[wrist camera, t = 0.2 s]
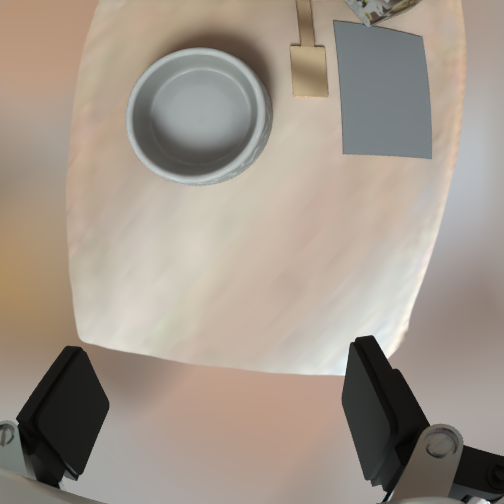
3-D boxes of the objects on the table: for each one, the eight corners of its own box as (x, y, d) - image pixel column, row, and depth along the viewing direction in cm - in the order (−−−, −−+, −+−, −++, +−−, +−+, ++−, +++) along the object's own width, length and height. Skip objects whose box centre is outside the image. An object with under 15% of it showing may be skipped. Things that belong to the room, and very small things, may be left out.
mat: (333, 21, 30) (333, 20, 30) (421, 37, 30) (422, 37, 30) (342, 153, 37) (343, 154, 36) (430, 158, 37) (431, 159, 36)
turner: (285, -2, 29) (286, -6, 28) (317, 0, 29) (319, -4, 28) (293, 96, 34) (294, 95, 33) (327, 97, 34) (329, 96, 33)
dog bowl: (205, 212, 39) (198, 222, 34) (109, 123, 35) (91, 121, 30) (299, 119, 35) (307, 115, 30) (197, 29, 31) (190, 14, 26)
